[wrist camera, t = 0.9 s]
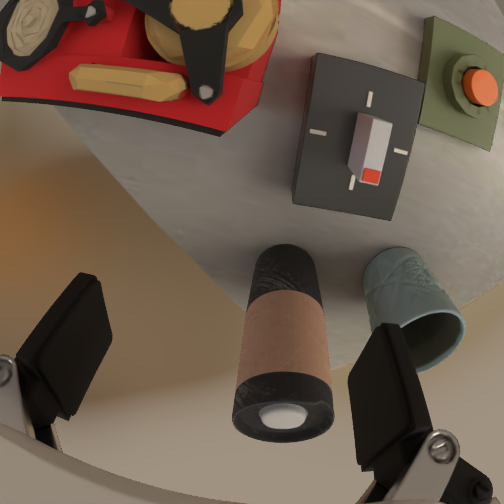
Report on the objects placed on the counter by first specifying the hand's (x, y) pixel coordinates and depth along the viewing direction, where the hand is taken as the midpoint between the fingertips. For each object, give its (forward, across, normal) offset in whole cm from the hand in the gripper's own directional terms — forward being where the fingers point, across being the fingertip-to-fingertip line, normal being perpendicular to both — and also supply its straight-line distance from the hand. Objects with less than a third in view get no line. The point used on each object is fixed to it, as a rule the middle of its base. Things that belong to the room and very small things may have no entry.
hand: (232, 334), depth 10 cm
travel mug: (+24, -4, +13) cm, 27 cm away
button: (+20, -19, -14) cm, 30 cm away
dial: (+19, -8, -4) cm, 21 cm away
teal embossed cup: (+24, -18, +11) cm, 32 cm away
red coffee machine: (+23, +8, -11) cm, 27 cm away
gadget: (+23, -8, -4) cm, 25 cm away
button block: (+23, -19, -14) cm, 33 cm away
